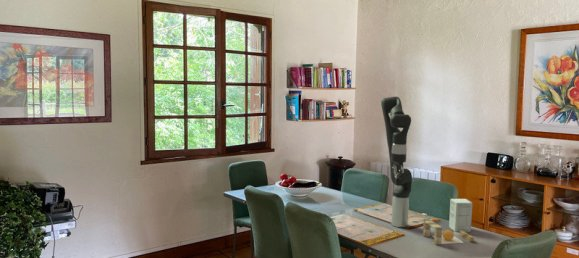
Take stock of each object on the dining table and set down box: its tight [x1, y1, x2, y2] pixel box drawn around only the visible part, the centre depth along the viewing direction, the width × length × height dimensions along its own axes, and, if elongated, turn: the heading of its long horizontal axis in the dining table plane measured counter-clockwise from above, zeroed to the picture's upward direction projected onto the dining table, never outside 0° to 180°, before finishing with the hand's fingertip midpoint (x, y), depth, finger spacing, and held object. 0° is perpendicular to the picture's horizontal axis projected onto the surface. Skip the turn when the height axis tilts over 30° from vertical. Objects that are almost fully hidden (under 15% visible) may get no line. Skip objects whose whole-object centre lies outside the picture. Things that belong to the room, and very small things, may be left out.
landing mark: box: [431, 234, 465, 245], centre depth 242 cm, size 12×12×1 cm
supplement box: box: [448, 198, 473, 233], centre depth 259 cm, size 10×9×17 cm
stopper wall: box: [458, 231, 475, 243], centre depth 244 cm, size 11×2×2 cm, turn 10°
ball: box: [442, 229, 454, 241], centre depth 240 cm, size 6×6×6 cm
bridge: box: [422, 218, 443, 246], centre depth 240 cm, size 14×3×9 cm, turn 10°
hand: (397, 185), depth 238 cm, fingers closed
